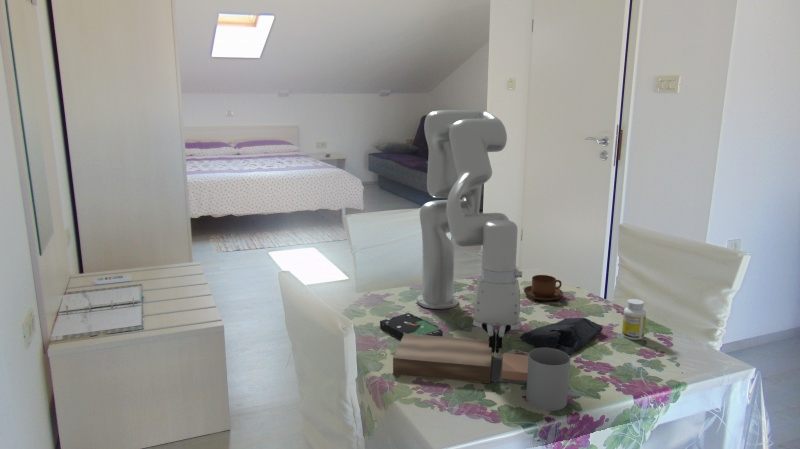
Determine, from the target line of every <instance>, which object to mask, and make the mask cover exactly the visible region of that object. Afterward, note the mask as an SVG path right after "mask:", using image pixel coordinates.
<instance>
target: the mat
mask: <svg viewBox="0 0 800 449" xmlns="http://www.w3.org/2000/svg"><path fill="white" fill-rule="evenodd" d="M502 363H503V358H495V357H494V358H493V357H492V365H491V376H490V382H498V383H507V384H518V385H527V381H521V380H511V379H502Z"/></svg>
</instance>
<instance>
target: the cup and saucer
mask: <svg viewBox="0 0 800 449" xmlns="http://www.w3.org/2000/svg"><path fill="white" fill-rule="evenodd" d="M557 283H559V285H558V286H557ZM562 284H563V283H562V280H559V279H557V278H556V277H554V276H552V275H548V274H547V275H546V274H536V275H533V276H532V277H531V285H529V286H526V287H524V289H523V292H524V294H525V295H526V296H527V297H529V298H531V299H534V300H537V301H544V302H545V301H546V302H547V301H548V302H549V301H550V302H551V301H556V300H559V299H560V298H562V297H563V295H564V291H563V290H561V287H562Z"/></svg>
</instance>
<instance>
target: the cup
mask: <svg viewBox="0 0 800 449" xmlns="http://www.w3.org/2000/svg"><path fill="white" fill-rule="evenodd" d="M570 368H571V358H570V355H567V354H566V353H565V352H563V351H560V350H558V349H553V348H533V349H531V350H529V352H528V373H527V384H526V398H525V399H526V402H527V404H529V405H530V406H531V407H534V408H536V409H537V410H541V411H546V412H550V411H551V412H552V411H553V412H556V411H560V410H563V409H564V408H565V407H566V406H567V405H568V394H569V382H570V381H569V380H570V379H569V378H570Z"/></svg>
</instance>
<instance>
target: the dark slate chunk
mask: <svg viewBox="0 0 800 449" xmlns="http://www.w3.org/2000/svg"><path fill="white" fill-rule="evenodd" d="M602 331H603V326H602V325H601V324H599V323H597V322H595V321H591V319H588V318H586V317H574V318H572V317H567V318H566V317H565V318H563V319H561V320H559V321H558V322H554V323H551V324H547V325H543V326H539V327H537V328H534V329H531V330H529V331H525V332H524V333H522V334H521V335H520V337H519V338H520V339H521V340H520V341H521V342H522V343H525V344H528V345H530V346H532V347H534V349H537V348H553V349H558V350H560V351H563V352H565V353H566V354H567V355H569V356H571V355H572V354H573V353H575V352H577V351H578V350H580V349H581V348H583V347H584V346H585V345H586V344H587V343H588V342H590V341H591V340H593V339H595V337H596V336H597V335H598V334H601V332H602Z"/></svg>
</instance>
